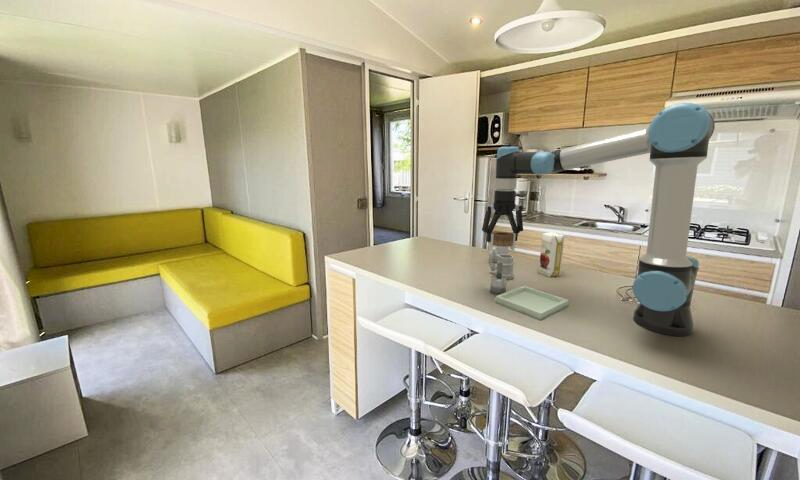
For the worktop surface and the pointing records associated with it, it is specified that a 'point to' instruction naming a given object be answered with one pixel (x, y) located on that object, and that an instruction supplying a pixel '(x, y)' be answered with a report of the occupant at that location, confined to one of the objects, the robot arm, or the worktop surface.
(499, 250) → the mug
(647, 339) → the worktop surface
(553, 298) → the tray
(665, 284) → the robot arm
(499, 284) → the grey bottle
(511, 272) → the mug
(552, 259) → the juice carton
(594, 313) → the worktop surface
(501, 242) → the ring
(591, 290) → the worktop surface
